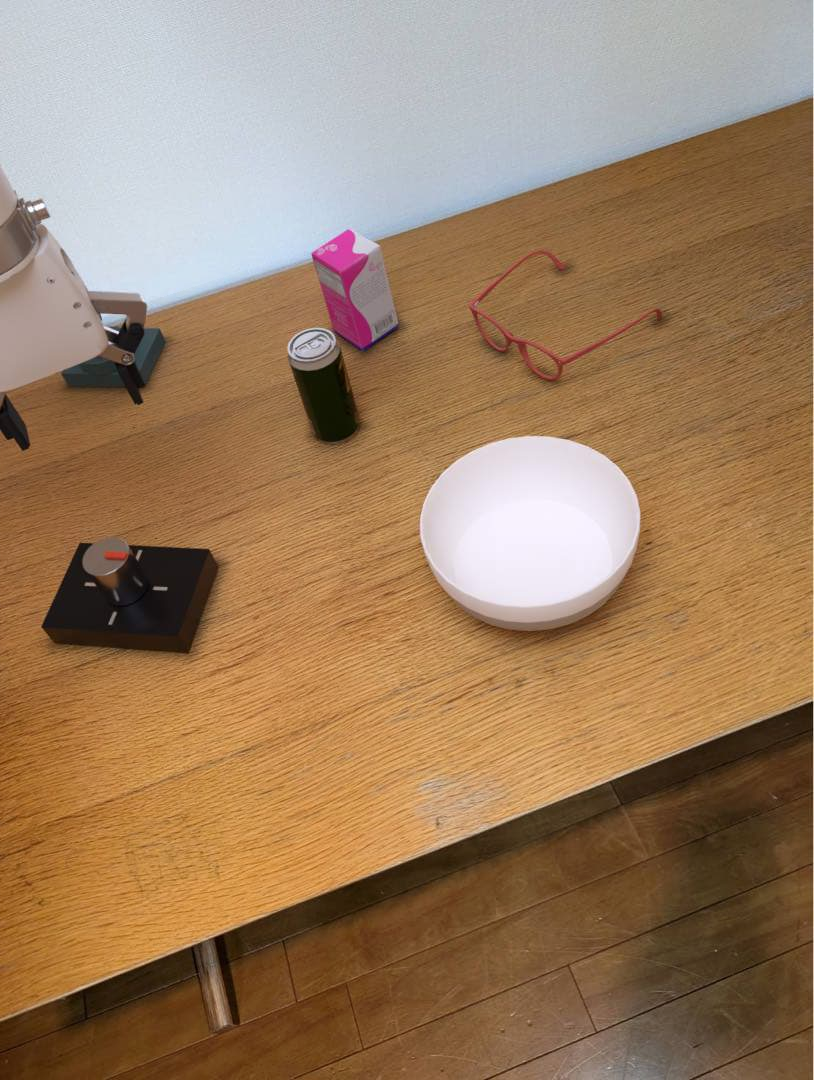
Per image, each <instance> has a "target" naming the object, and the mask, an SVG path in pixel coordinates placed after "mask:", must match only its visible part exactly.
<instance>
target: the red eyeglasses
mask: <svg viewBox="0 0 814 1080" xmlns="http://www.w3.org/2000/svg"><path fill="white" fill-rule="evenodd" d="M540 254H541V255H544V256H547V257H548V258H550V260H551V261H552V262H553V263H554V264H555V266H556V267H557V269H559V270H560V271H562V270H565V268H566V266H565V264H564V263H562V262H561V261H560V260H559V258H557V257H556V256H554V254H552V253H551V252H550V251H547V250H544V249H543V250H542V249H540V250H534V251H531V252H529V253H527V254H526V255H524V256H523V257H521V258H520V259H519V260H518V261H516V263H514V264H513V265H512V266H511V267H509V269H507V270H506V271H504V273H503V274H501V276H499V277H498V278H497V279H495V281H493V282H492V283H491V284H490V285H488V286H487V287H486V288H485V289H484V290H483V291H482V292H481V293H480V294H479V295H478V296H477V297H475V298H474V299H473V300H472V301H471V302H470V303H469V304H468V308H469V310H470V312H471V314H472V316H473V320H474V321H475V324H476V326H477V328H478V330H479V332H480V333H481V335H482V336H483V338H484V339H485V340H486V342H487V343H488V344H489V345H490V347H492V348H493V349H494V350H496V351H498V352H501V353H503V352H507V351H508V350H509V348H510V346H511V344H512V343H514V344H516V345H517V348H518V351H519V353H520V355H521V357H522V359H523V360H524V362H525V363H526V365H527V366H528V367H529V368H530V369H531V371H533V372H534V373H535V374H536V375H537V376H538V377H540V378H542V379H545V380H548V381H556V380H558V379H559V378H560V377H561V375H562V373H563V367H564V366H566V365H568V364H570V363H572V362H574V361H576V360H578V359H579V358H581V357H583V356H585V355H587V354H589V353H591V352H593V351H594V350H596V349H597V348H599V347H600V346H602V345H604V344H606V343H607V342H609V341H610V340H613V339H614V338H615V337H617V336H619V335H621V334H622V333H625V331H627V330H629V329H630V328H632V327H634V326H635V325H636V324H638V323H640V322H641V321H642V320H644V319H645V318H646V317H648V316H650V315H652V314H653V313H656V320H657V321H660V320H661V319H662V317H663V314H662V311H661V309H659V308H657V307H656V308H653V309H651V310H649V311H648V312H646V313H644V314H643V315H641V316H640V317H639V318H637V319H635V320H634V321H632V322H630V323H629V324H627V325H625V326H624V327H621V328H620V329H618V330H616V331H615V332H613V333H611V334H609V335H608V336H606V337H604V338H603V339H600V340H599V341H596V342H594V343H592V344H590V345H588V346H586V347H584V348H582V349H579V350H578V351H576V352H574V353H573V354H570V355H568V356H566V357H565V358H561V356H558V355H556V354H555V353H553V352H552V351H550V350H548V349H547V348H545V347H543V346H542V345H540V344H538V343H535V342H533V341H531V340H530V339H527V338H526V339H525V338H519V337H516V336H514V334H513V333H512V332H510V331H508V330H507V329H506V328H504V327H503V326H502V324H500V323H499V321H497V320H495V319H494V318H493V317H491V316H490V315H488V314H487V313H485V312H484V311H482V310H481V309H479V308H477V306H478V305H479V304H480V303H481V302H482V301H483V300H484V299H485V298H486V297H487V296H488V295H489V294H490V293H491V292H492V291H493V290H494V289H495V288H496V287H497V286H498V284H500V283H501V282H502V281H503V280H505V278H506V277H507V276H508V275H509V274H511V273H512V272H513V271H515V269H516V268H518V267H519V266H520V265H521V264H522V263H523V262H525V261H526V260H528V259H529V258H531V257H532V256H535V255H540ZM478 315H480V316H481V317H483V318H484V319H486V320H487V321H489V322H490V323H491V324H493V325H494V326H495V327H496V328H497V329H498V330H499V331H500V332H501V333H502V335H503V337H504V338H505V342H506V346H505V347H501V346H499V345H497V344H495V343H494V342H493V341H492V340H491V338H490V337H489V336H488V335H487V333H486V332H485V330H484V328H483V326H482V325H481V322H480V320H479V317H478ZM527 345H529V346H531V347H532V348H533V347H534V349H537V350H539V351H540V352H542V353H544V354H546V355H547V356H548V357H550V358H551V360H552V361H554V363H555V365H556V367H557V374H556V375H554V376H550V375H547V374H544V373H543V372H541V371H540V370H539V369H537V368H536V366H534V363H532V361H531V358H530V356H529V351H528V348H527Z"/></svg>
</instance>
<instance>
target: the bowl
mask: <svg viewBox="0 0 814 1080" xmlns="http://www.w3.org/2000/svg"><path fill="white" fill-rule="evenodd" d="M421 507H422V508H421V513H420V517H419V539H420V542H421V546H422V549H423V553H424V555H425V558H426V561H427V564H428V566H429V569H430V570H431V573H432V574H433V576H434V578H435V579H436V581H437V583H438V584H439V585H440V587H441V588H442V589H443V591H444V592H445V593H446V594H447V596H448V597H449V598H450V599H451V600H452V601H453V602H454V603H455V604H456V605H457V607H458V608H459V609H461V610H462V611H464V612H465V613H466V614H468V615H470V616H471V617H472V618H474V619H477V620H478V621H481V622H484V623H486V624H487V625H490V626H494V627H497V628H501V629H506V630H510V631H511V630H512V631H525V632H535V631H547V630H552V629H556V628H559V627H561V628H562V627H564V626H568V625H570V624H573V623H576V622H578V621H579V620H582V619H584V618H586V617H588V616H590V615H591V614H593V613H594V612H595V611H597V610H598V609H600V608H601V607H603V606H604V605H605V604H606V603H607V602H608V601H609V599H610V598H612V597H613V595H614V594H615V593H616V592H617V590H618V589H619V587H620V586H621V584H622V583H623V581H624V580H625V577H626V576H627V573H628V571H629V569H630V568H631V566H632V564H633V561H634V558H635V555H636V552H637V549H638V545H639V539H640V533H641V519H642V514H641V513H642V512H641V507H640V503H639V498H638V496H637V493H636V491H635V489H634V487H633V484H632V483H631V481H630V480H629V478H628V477H627V476H626V474H625V473H624V472H623V471H622V470H621V468H620V467H619V466H618V465H617V464H615V463H614V462H613V461H612V460H611V459H610V458H608V457H607V456H605V455H604V454H603V453H600V452H599V451H597V450H595V449H594V448H591V447H589V446H587V445H585V444H582V443H579V442H577V441H573V440H570V439H567V438H560V437H554V436H545V435H544V436H541V435H540V436H539V435H525V436H517V437H509V438H505V439H501V440H498V441H493V442H490V443H488V444H485V445H483V446H480V447H478V448H476V449H473V450H471V451H469V452H468V453H467V454H465V455H463V456H461V457H460V458H458V459H457V460H455V461H454V462H453V463H452V464H450V465H449V466H448V467H447V468H446V469H445V470H444V471H443V472H442V473H441V474H440V475H439V477H438V478H437V479H436V481H435V482H434V483H433V485H432V486H431V487H430V489H429V491H428V493H427V495H426V497H425V499H424V501H423V504H422V506H421Z"/></svg>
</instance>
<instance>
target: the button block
mask: <svg viewBox="0 0 814 1080" xmlns="http://www.w3.org/2000/svg"><path fill="white" fill-rule="evenodd" d="M107 326H108V325H107ZM108 327H110V328H111V329H113V330H116V331H118V332H119V331H120V329H121V327H120V326H117V325H115V326H114V325H113V326H108ZM166 342H167V341H166V339H165V337H164V335H163V333H162V330H161V329H160V327H144V336H143V338H142V340H141V342H140V344H139V346H138V348H137V350H136V352H135V354H134V356H135V360H134V361H135V363H136V365H137V367H138V369H139V371H140V373H141V375H142V377H143V379H144V382H145V385H146V386H147V383H148V381H149V380H150V377H151V374H152V372H153V371H154V368H155V366H156V364H157V361H158V360H159V357H160V355H161V352H162V350H163V349H164V346H165V344H166ZM60 373H61V374H60V375H61V376H62V378H63V379H64V382H65V383H66V385H67V387H69V388H126V387H125V385H124V383H123V381H122V379H121V377H120V375H119V373H118V371H117V368H116V365H115V362H114V361H112V360H109V359H106V358H104V357H94V358H92V359H90V360H88V361H85V362H83V363H80V364H78V365H75V366H73V367H70V368H68V369H65V370H63V371H61V372H60ZM146 386H144V387H143V388H145V387H146Z"/></svg>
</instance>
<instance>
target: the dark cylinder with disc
mask: <svg viewBox="0 0 814 1080" xmlns="http://www.w3.org/2000/svg"><path fill="white" fill-rule="evenodd" d="M93 543H94V544H93V545H91V546H90V547H89V548H88V550H87V551H86V552H85V554H84V557H83V567H84V569H85V571H86V572H87V574H88V575H89V576H90V578H91V579H92V581H93V582H94V584H95V585H96V586H97V588H98V589H99V591H100V592H101V594H102V595H103V596H104V598H105V599H106V601H107V602H108V603H110V604H112V605H115V606H124V605H128V604H131V603H133V602H135V601H136V600H138V599H139V598H140V597H141V596H142V595H143V594H144V593H145V591H146V589H147V586H148V577H147V575H146V573H145V572H144V570H143V568H142V567H141V565H140V564H139V562H138V560H137V559H136V557H135V555H134V554H133V552H132V551H131V549H130V547H129V546H128V545H129V544H128V543H127V542H126V540H124V538H120V537H117V536H108V537H104V538H101V539H99V540H97V541H96V542H93Z"/></svg>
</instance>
